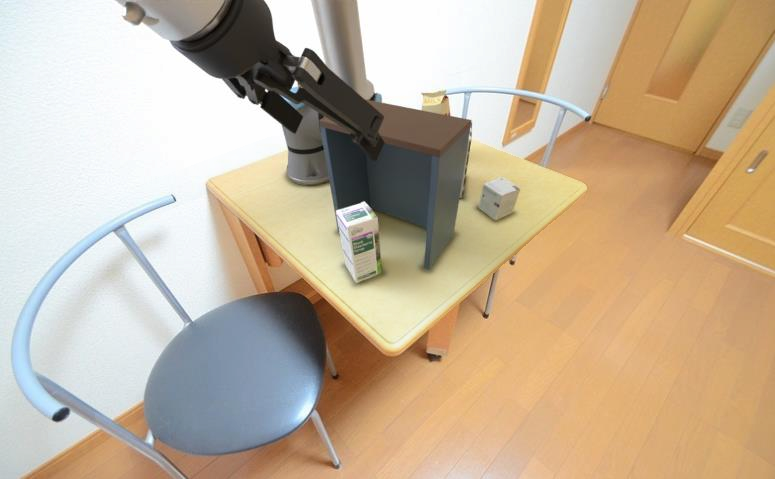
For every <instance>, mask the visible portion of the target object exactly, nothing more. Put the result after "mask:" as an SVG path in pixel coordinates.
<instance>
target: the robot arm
mask: <svg viewBox="0 0 775 479" xmlns="http://www.w3.org/2000/svg"><path fill="white" fill-rule="evenodd" d="M114 1H116V2H117V3H118V4H119V5H120V6H122V7H123V9H122V11H121V16H122V18H123V20H124V21H126V22H128V23H129V24H131V25H132V26H133V27H136V26H139V25H141V24H143V25H144V26H146V27H147V28H149V29H150V30H151V31H153V32H154V33H156V34H157V35H158V36H159V37H161V38H162V39H164V40H167V41H169V42H170V45H171V46H172V47H173V48H174V49H175V50H176V51H177V52H178V53H180V54H181V55H182V56H184V57H185V58H186V59H188V60H189V61H190V62H192V63H193V64H194V65H195V66H197V67H198V68H199V69H201V70H202V71H203V72H204V73H206V74H207V75H208V76H211V77H213V78H214V79H215V78H216V79H219V80H222V81H223V82H224V84H225V85H226V86H227V87H228V88H229V89H230V90H231V92H232V93H233V94H234V95H235V96H236V97H237V98H238V99H243V100H245V99H246V97H247V99H248V101H249V102H250V103H251V104H253V105H256V106H259V105H260V107H259V108H260V109H261V110H263V111H264V112H265V113H266V114H267V115H269V116H270V117H272V118H273V119H274V120H275V121H276V122H278V123H279V124H280V125H281V128H282V131H283V136H284V139H285V143H286V147H287V165H286V174H287V177H288V179H289V180H290V181H291V182H292V183H294V184H297V185H301V186H316V185H317V186H318V185H322V184H325V183H328V182H330V181H329V175H328V170H327V164H326V158H325V152H324V147H323V141H322V135H321V129H320V123H319V120H320V119H322V118H324V117H326V118H328V119H330V120H331V121H333V122H334V123H336V124H338V125H339V126H341V127H342V128H344V129H346V130H347V131H349V132H350V133H351V134H350V137H351V138H352V139H353V143H356V144H357V145H358V146H359V147H360V148H361V149H362V150H363V152H364V153H365V154H366V155H367V156H368V157H369V158H370V159H371V160H373V161H377V158H378V156H379V154H380V152H381V150H382V147H383V145H384V143H385V142H384V141H383V139H382V138H381V136H380V134H379V133H378V131H379V128H380V126H381V124H382V122H383V119H384V116H383V115H382V114H381V113H380V112H379V111H378V110H376V109H375V108H374V107H373V106H372V105H371V104H370V103H368V102H367V101H366V100H371V101H376V102H381V103H383V95H382V94H381V93H379V92H376V91H375V87H374V84H373V83H372V82H371V81H370V80H369V79H368V78H367V71H366V63H365V54H364V45H363V38H362V37H363V36H362V29H361V20H360V13H359V4H358V0H310V3H311V7H312V10H313V11H312V12H313V15H314V20H315V24H316V28H317V33H318V38H319V42H320V47H321V52H322V56H323V59H322V58H321V57H320V56H319V55H318V53H316V52H315V51H314V50H313V49H311V48H309V47H305V48H304V49H303V51H302V53H301V56H296V55H294V54H292V52H291V50H290V49H289V48H288V47H287V46H286V45H284V44H283V43H281V42H280V41H278V40H277V39H276V35H275V29H274V22H273V21H274V20H273V15H272V11H271V8H270V6H269V5H268V4H267V2H266V1H265V0H114ZM323 60H324V61H323ZM295 83H297V84H296V85H297V86H294V84H295ZM365 99H366V100H365Z"/></svg>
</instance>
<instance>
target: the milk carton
mask: <svg viewBox="0 0 775 479" xmlns="http://www.w3.org/2000/svg"><path fill="white" fill-rule="evenodd" d="M446 93H447V89H443V90H438V91H435V92H420V94H421V95H422V101H421V110H422V111H428V112H433V113H438V114H443V115H448V116H452V115H451V108H450V107H451V106H450V98H449V96H448V95H447V94H446Z"/></svg>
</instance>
